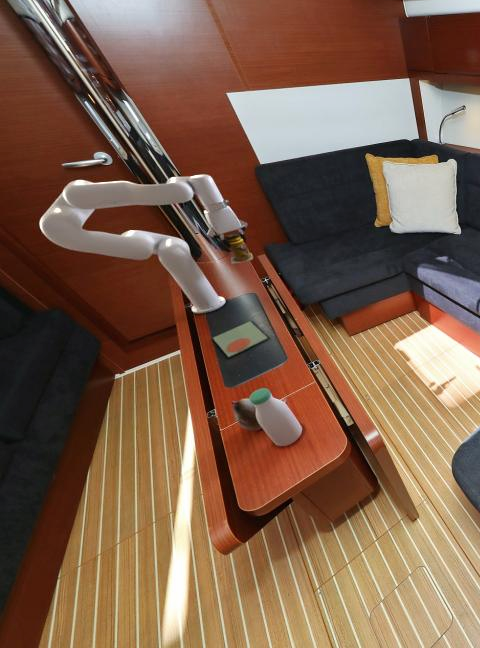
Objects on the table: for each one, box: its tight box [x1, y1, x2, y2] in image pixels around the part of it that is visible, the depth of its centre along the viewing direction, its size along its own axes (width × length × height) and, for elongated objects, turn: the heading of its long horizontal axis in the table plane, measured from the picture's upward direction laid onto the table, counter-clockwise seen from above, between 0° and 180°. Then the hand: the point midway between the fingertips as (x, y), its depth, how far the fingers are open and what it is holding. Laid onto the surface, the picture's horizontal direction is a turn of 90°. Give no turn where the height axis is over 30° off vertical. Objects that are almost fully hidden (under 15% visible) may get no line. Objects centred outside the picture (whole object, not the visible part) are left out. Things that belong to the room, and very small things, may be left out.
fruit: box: [230, 398, 263, 432], centre depth 100 cm, size 10×9×12 cm
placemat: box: [212, 320, 269, 359], centre depth 135 cm, size 18×14×1 cm
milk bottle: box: [249, 387, 303, 447], centre depth 94 cm, size 8×8×20 cm
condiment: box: [224, 232, 254, 265], centre depth 150 cm, size 7×8×12 cm
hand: (236, 244), depth 149 cm, fingers closed on condiment, 6 cm apart
